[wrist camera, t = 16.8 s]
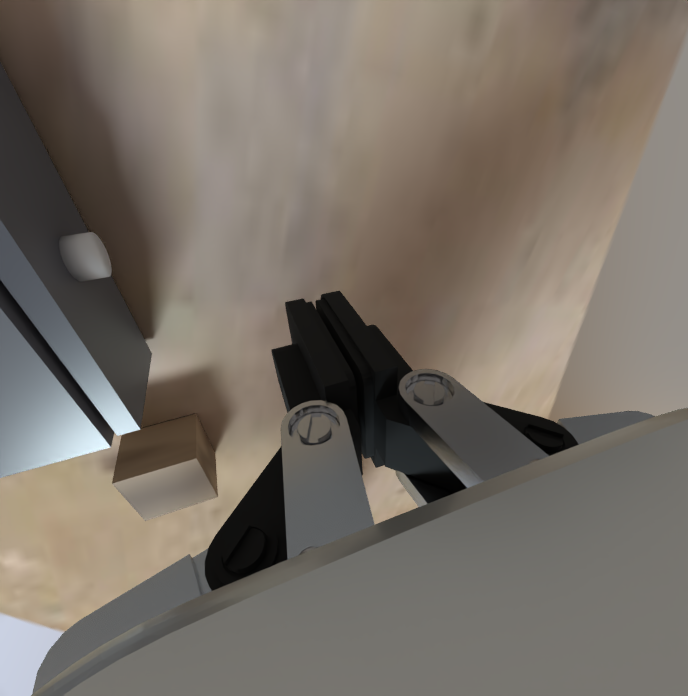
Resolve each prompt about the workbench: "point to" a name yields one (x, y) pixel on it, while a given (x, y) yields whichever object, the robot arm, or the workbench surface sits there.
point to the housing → (40, 400)
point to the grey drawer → (65, 274)
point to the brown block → (166, 467)
